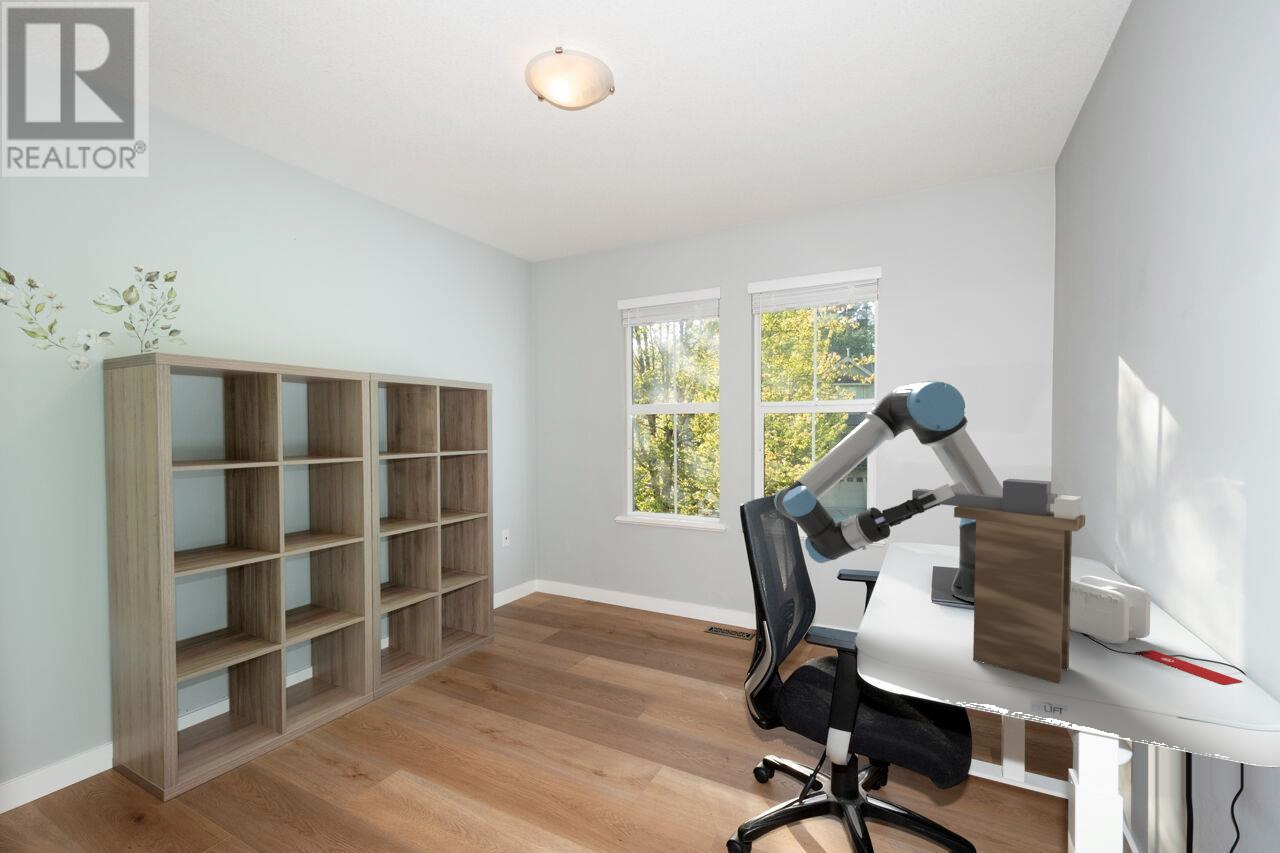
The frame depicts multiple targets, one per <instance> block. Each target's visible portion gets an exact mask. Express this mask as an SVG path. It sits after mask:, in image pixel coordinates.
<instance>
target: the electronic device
mask: <svg viewBox="0 0 1280 853" xmlns="http://www.w3.org/2000/svg"><path fill="white" fill-rule="evenodd" d="M1134 653H1135V654H1134ZM1133 654H1134V655H1137V654H1138V655H1137V656H1140V655H1141V657H1142V656H1143V657H1142V658H1145V657H1146V658H1145V659H1148V658H1149V659H1148V660H1151V661H1154V662H1156V661H1157V662H1156V663H1159V662H1160V663H1159V664H1162V663H1163V664H1162V665H1165V666H1167V667H1170V666H1171V667H1170V668H1173V667H1174V668H1173V669H1176V668H1177V669H1176V670H1179V671H1182V672H1185V673H1187V674H1190V675H1192V676H1193V675H1194V676H1196V677H1198V678H1201V679H1204V680H1207V681H1209V682H1213V683H1216V684H1218V685H1222V686H1227V685H1233V684H1240V683H1243V680H1241V679H1237V678H1235V677H1231V676H1229V675H1226V674H1223V673H1220V672H1218V671H1215V670H1212V669H1209V668H1206V667H1204V666H1199V665H1197V664H1194V663H1191V662H1188V661H1185V660H1183V659H1179V658H1176V657H1174V656H1171V655H1168V654H1165V653H1163V652H1159V651H1157V650H1153V649H1149V650H1139V651H1133Z"/></svg>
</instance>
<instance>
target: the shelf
mask: <svg viewBox="0 0 1280 853" xmlns="http://www.w3.org/2000/svg"><path fill="white" fill-rule="evenodd" d="M953 510H954V511H953V518H956V519H957V518H958V519H961V518H966V519H974V520H976V550H975V596H974V603H973V604H974V606H973V609H974V610H973V643H972V644H973V645H972V646H973V647H972V648H973V649H972V652H973V653H972V660H973V661H975V660H977V661H976V662H979V661H980V662H979V663H982V662H984V663H983V664H986V663H987V665H990V664H991V666H993V665H994V667H997V666H998V668H1001V669H1004V670H1009V671H1012V672H1016V673H1019V674H1024V675H1027V676H1030V677H1034V678H1038V679H1042V680H1045V681H1048V682H1052V683H1056V684H1060V683H1061V681H1062V672H1063V671H1068V670H1067V669H1069V668H1070V667H1069V666H1070V631H1071V630H1070V592H1071V580H1072V544H1073V543H1072V542H1073V538H1072V536H1073V532H1079V531H1080V530H1081V529H1082V528H1083V527H1085V526H1086V514H1084V513H1081V515H1080V516H1079V517H1077V518H1076V519H1065V518H1056V517H1054V510H1052V511H1051V512H1050V513H1049V514H1048V515H1046V516H1042V515H1032V514H1022V513H1012V512H1002V510H992V509H982V508H971V507H961V506H954V508H953ZM1063 669H1064V670H1063Z"/></svg>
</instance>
